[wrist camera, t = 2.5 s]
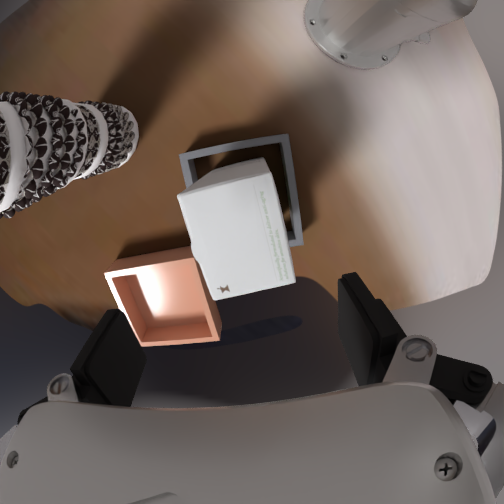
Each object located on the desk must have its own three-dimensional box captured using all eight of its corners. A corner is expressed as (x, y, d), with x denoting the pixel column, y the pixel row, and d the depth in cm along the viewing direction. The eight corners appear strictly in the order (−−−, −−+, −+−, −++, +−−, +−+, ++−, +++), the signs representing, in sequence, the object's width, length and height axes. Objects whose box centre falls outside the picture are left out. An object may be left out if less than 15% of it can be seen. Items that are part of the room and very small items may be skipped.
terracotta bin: (199, 244, 35) (193, 257, 31) (221, 322, 40) (219, 340, 36) (116, 259, 35) (104, 272, 32) (146, 329, 40) (138, 346, 37)
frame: (284, 133, 29) (288, 133, 26) (299, 235, 34) (303, 244, 32) (185, 152, 30) (178, 154, 27) (208, 250, 35) (205, 261, 32)
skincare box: (279, 220, 33) (301, 288, 19) (226, 232, 34) (211, 306, 20) (263, 153, 30) (276, 169, 16) (207, 167, 31) (172, 196, 16)
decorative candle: (156, 136, 29) (-21, 168, 6) (107, 187, 31) (-48, 282, 8) (115, 87, 26) (-57, 65, 3) (70, 139, 28) (-90, 184, 5)
